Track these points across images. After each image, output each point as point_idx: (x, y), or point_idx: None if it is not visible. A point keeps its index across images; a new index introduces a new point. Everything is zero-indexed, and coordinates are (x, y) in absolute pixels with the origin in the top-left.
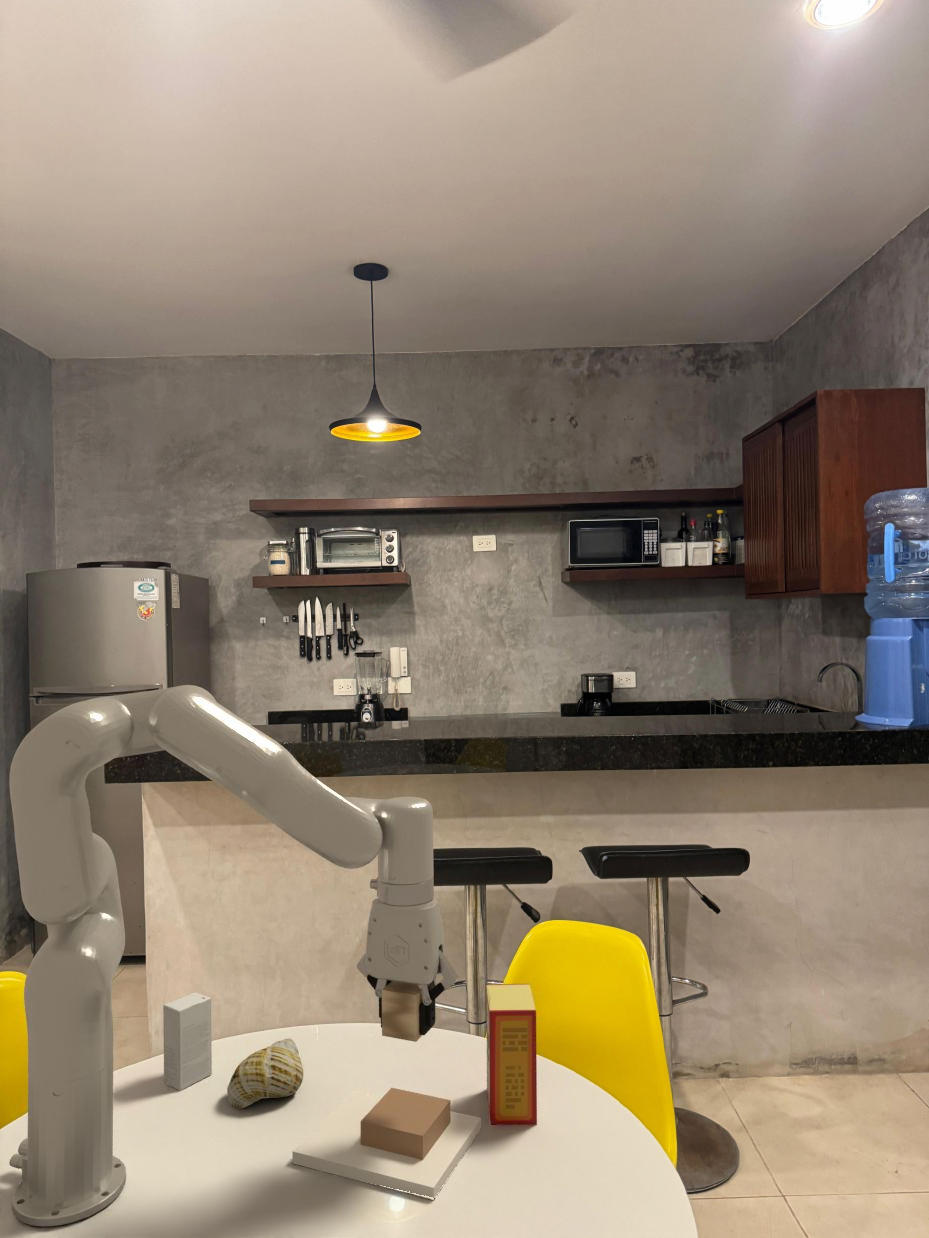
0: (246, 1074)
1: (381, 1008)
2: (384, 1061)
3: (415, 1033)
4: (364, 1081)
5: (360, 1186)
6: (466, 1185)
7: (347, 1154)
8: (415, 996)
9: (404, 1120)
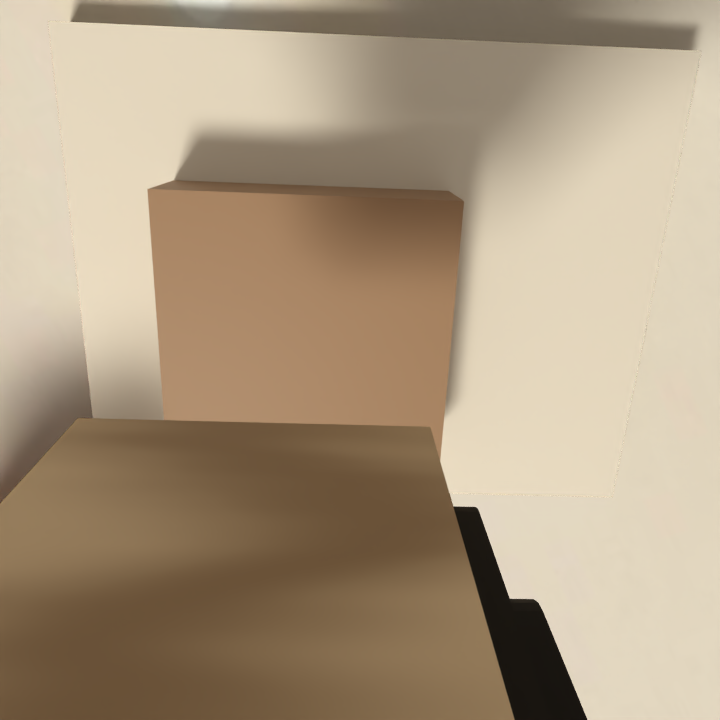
0: None
1: (510, 635)
2: (580, 696)
3: (50, 452)
4: (603, 583)
5: (364, 11)
6: (5, 157)
7: (471, 109)
8: None
9: (279, 273)
